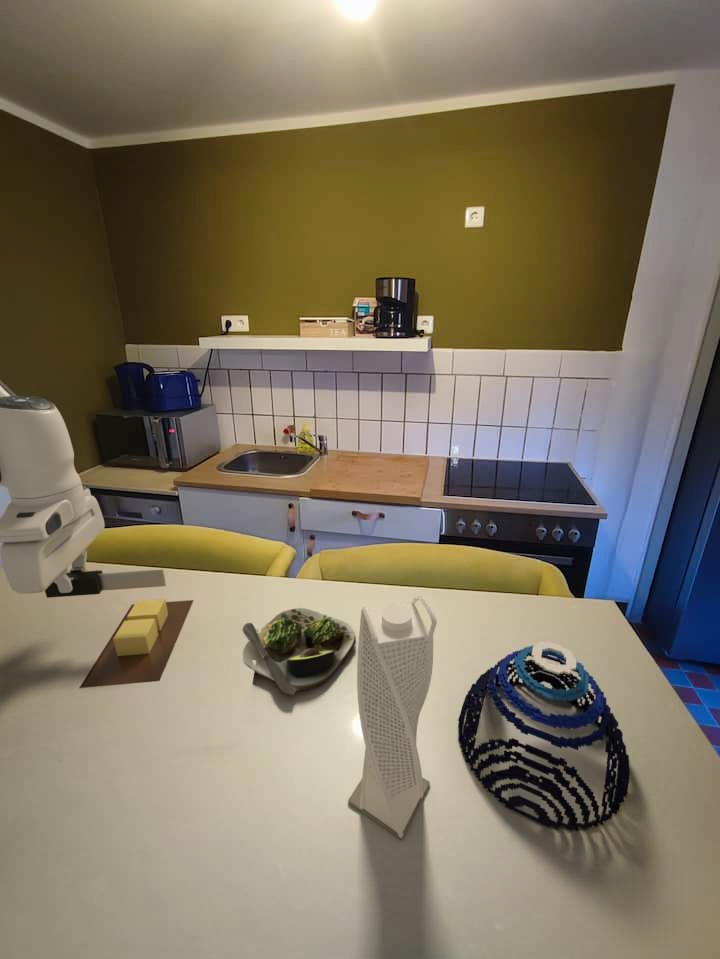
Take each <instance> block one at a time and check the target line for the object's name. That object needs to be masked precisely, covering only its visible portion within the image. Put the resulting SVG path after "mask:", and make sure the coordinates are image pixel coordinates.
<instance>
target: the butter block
mask: <svg viewBox="0 0 720 959" xmlns="http://www.w3.org/2000/svg"><path fill="white" fill-rule="evenodd" d="M157 637H158V630H157V626H156V621H155V618H154V619H141V620H128V621H124V622H123V624H122V625H121V627H120V629H119V630H118V632H117V633H116V635H115V637H114V638H113V641H114V644H115V648H116V652H117V656H126V655H138V654H149V653H150V651H151V649H152V647H153V645H154V643H155V641H156V639H157Z"/></svg>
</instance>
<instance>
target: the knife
mask: <svg viewBox="0 0 720 959" xmlns="http://www.w3.org/2000/svg"><path fill="white" fill-rule="evenodd" d="M164 572H165V571H164V569H150V570H149V569H148V570H135V571H120V572H119V571H118V572H104V573H103V570H87V571H85V572H70V571H68V573H67V574H66V575H67V576H68V577H69V578H74V581H75V585H76V586H75V587H74V588H73V590H72V591H71V592H69V593H61V592H60V591H59V589H58V586H57V584H56V583H54V582H53V583H52V584H51V585H50V586H49V587H48V588H47V589H46V590H45V591H44V593H45V596H46V598H47V599H48V598H49V599H50V598H63V597H77V596H78V597H79V596H92V595H100V594H101V593H102V591H115V590H129V589H130V590H131V589H143V588H144V589H146V588H159V587H166V586H167V582H166V578H165V573H164Z"/></svg>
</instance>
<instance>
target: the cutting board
mask: <svg viewBox="0 0 720 959" xmlns="http://www.w3.org/2000/svg"><path fill="white" fill-rule="evenodd" d="M193 603H194V599H189V600H176V601H175V600H174V601H166V605H167V610H168V616H167V618H166V620H165V622H164V624H163V627H162V629H161V631H158V637H157V639H156V641H155V643H154V645H153V647H152V649H151V651H150V653H149V654H138V655H126V656H117V652H116V648H115V644H114V641H113V638H114V637H115V635H116V633H117V632H118V630H119V629H120V627H121V625H122V624H123V622H124V621H128V619H127V616H128V614H129V613H130V611H131V609H132V608H133V606H134V605H135V603H132V604H131V605H130V607H129V608H128V610H127V612H126V613H125V614H124V616H123V618H122V620H121V621H120V623H119V624H118V626H117V627H116V629H115V631H114V632H113V634H112V635H111V637H110V638H109V640H108V642H107V643H106V645H105V646H104V648H103V649H102V651H101V653H100V654H99V655H98V657H97V659H96V661H94V662H95V663H94V664H93V665H92V667H91V669H90V670H89V671H88V674H86V676H85V678H84V679H83V681H82V683H81V685H80V686H79V689H85V688H96V687H107V686H108V687H109V686H118V685H129V684H140V683H152V682H160V681H161V679H162V677H163V674H164V673H165V669H166V667H167V665H168V662H169V660H170V658H171V655H172V654H173V653H172V652H173V650H174V649H175V646H176V643H177V641H178V639H179V637H180V634H181V631H182V630H183V627H184V624H185V623H186V619H187V617H188V615H189V613H190V610H191V608H192V605H193Z"/></svg>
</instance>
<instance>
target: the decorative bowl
mask: <svg viewBox="0 0 720 959" xmlns="http://www.w3.org/2000/svg"><path fill="white" fill-rule="evenodd" d="M528 657H531V658H533V659H531V658H530V659H527V658H528ZM545 659H546V660H545ZM549 661H552V662H556V663H559V664H554V663H551V662H549ZM511 662H512V663H511ZM509 668H510V669H509ZM572 672H574V673H577V675H578V676H576V675H574V674H573V673H572ZM510 676H511V678H510ZM578 677H580V678H578ZM514 678H515V679H514ZM520 680H521V681H520ZM543 682H544V683H546V684H549V685H550V686H551V688H550V687H547V686H545V684H543ZM519 685H520V686H525V687H528V688H530V690H532V691H534V692H535V694H538V695H541V696H542V698H545V699H547V700H551V701H553V700H556V701H557V702H558V701H559V702H561V701H563V702H567V701H568V703H570V705H573V706H575V707H576V708H578V709H581V710H582V712H581V711H579V712H577V713H576V714H575V713H574V714H572V715H568V714H565V713H563V714H560V713H558V714H555V713H552V712H550V713H549V715H547V714H544V713H543V711H541V709H540V708H538V707H535V706H534V704H532V703H529V702H527V700H526V699H524V698H521V697H520V694H519V693H518V691H516V690H514V686H519ZM589 685H590V689H591V690H592V691H591V690H590V689H589ZM498 688H500V690H501V691H502V693H504V695H503V696H504V697H505V698H506V700H508V701H510V702H509V705H512V706H514V708H515V709H518V711H519V712H521V713H523V715H524V716H526V717H529V718H530V720H532V721H535V722H537V723H539V724H543V725H545V726H548V727H551V728H554V729H557V728H559V729H561V730H562V729H563V728H564V729H567V730H569V731H571V729H572V730H575V731H576V730H579V729H581V728H582V727H583V728H584V729H585V728H586V729H587V728H588V726H590V725H593V724H595V725H596V726H597V728H598V729H595V730H593V731H592V733H590V734H587V735H584V736H581V737H580V736H578V735H577V736H574V737H573V738H572V737H570V736H568V738H567V737H564V736H562V735H560V737H559V736H557V735H554V734H551V733H549V732H546V731H544V730H541V729H538V728H535V727H533V726H530V725H528V724H525V722H524V721H523V719H522V718H519V717H517V713H516V712H513V711H511V710H510V708H508V705H506V703H505V702H504V701H503V697H502V696H501V695H499V692H500V691H499V690H498ZM488 690H489V692H488ZM487 692H488V695H490V696H489V697H490V699H491V701H492V704H493V705H494V708H496V710H497V711H498V713H500V716H502V717H504V719H506V721H507V722H509V723H510V724H513V726H514V727H515V729H516V730H518V731H519V732H520V733H521V734H523V735H526V736H529V735H531V736H533V737H536V738H538V739H541V740H544V741H546V742H549V743H550V745H552V746H555V747H557V748H559V749H562V748H565V749H568V748H570V749H573V750H576V751H579V748H582V747H585V746H587V747H590V746H593V743H596V742H597V743H598V742H599V741H600V742H604V740H605V739H604V735H605V736H606V737H607V738H608V739H607V740H605V747H604V751H605V753H607V757H606V769H605V778H604V784H603V792H602V798H601V807H603V809H602V811H601V814H599V813H600V804H598V800H596V795H594V791H592V788H590V786H589V785H588V784H587V783H586V782H585V780H584V779H583V777H581V776H580V774H579V773H578V769H576V767H575V766H574V765H571V766H568V761H566V759H565V758H563V757H561V756H560V757H559V758H558V757H555V756H553V754H552V753H550V752H548V751H545V750H543V749H540V748H538V747H535V746H532V745H531V744H528V743H526V744H524V743H520V740H518V739H515V738H513V737H511V738H508V741H507V740H504V739H502V738H501V737H499V738H496V739H494V738H491V739H490V738H489V739H488V741H485V742H484V741H483V742H481V743H480V744H478V746H475V745H476V741H477V737H476V736H477V735H478V730H479V725H480V720H481V716H482V711H483V706H484V702H485V699H486V694H487ZM482 702H483V703H482ZM583 702H584V703H583ZM590 702H591V703H590ZM600 718H601V719H600ZM599 719H600V721H599ZM457 721H458V724H457V728H458V732H457V733H458V738H457V741H458V742H459V744H460V749H461V751H460V752H461V753H462V755H463V756H464V759H465V763H467V764H469V765H468V767H470V769H469V771H471V772H473V773H474V774H473V775H475V778H477V781H478V782H480V783H481V785H482V788H484V789H486V792H487V793H490V794H491V795H493V798H496V799H497V802H499V803H500V804H503V805H504V808H507V809H508V810H511V811H513V812H514V813H517V814H519V815H521V816H522V817H523V816H524V817H526V818H527V819H530V820H532V821H534V822H536V823H538V824H541V825H542V826H545V827H547V828H548V829H551V828H554V829H556V830H559V829H562V828H564V829H567V830H569V831H570V832H573V830H575V831H577V832H578V831H579V828H580V829H583V830H585V831H587V829H588V830H589V829H591V828H593V827H594V828H598V827H599V825H601V826H604V822H607V821H610V820H612V817H613V815H615V816H617V815H618V814H617V813H618V812H620V809H621V804H622V803H625V798H627V796H628V790H629V784H630V774H631V772H630V771H631V769H630V757H629V755H628V754H627V746H626V745H625V742H624V740H623V731H622V729H620V728H618V727H619V721H618V720H617V719H616V717H615V715H614V713H613V712H611V707H610V705H609V704H607V697H606V696H605V692H604V691H602V690H601V688H600V686H599V684H597V681H596V680H595V679H594V676H592V675H591V674H590V673H589V672H588V671H587V670H586V669H585V665H583V664H582V663H581V662H578V659H577V658H575V655H574V654H573V651H571V650H570V649H569V648H566V647H564V646H563V645H560V644H558V643H554V642H551V641H548V642H546V641H544V640H543V641H542V640H541V641H538V642H535V645H529V646H524V647H523V648H522V649H519V650H514V651H512V653H509V654H507V655H505V657H503V658H501V659H500V660H498V661H497V663H496V664H495V663H494V666H493V667H492V666H491V667H490V668H489V669H487V670H486V671H485V672H484V673H481V674H480V676H479V677H478V678H477V679H476V681H475V683H472V684H471V687H470V689H469V690H468V692H467V694H466V695H465V697H464V700H463V703H462V706H461V710H460V714H459V716H458V719H457ZM496 743H497V744H496ZM503 747H504V750H503V754H498V753H490V752H492V751H493V752H495V751H498V750H500V749H501V748H503ZM513 747H514V748H516V749H518V748H521V749H524V752H525V753H528V754H531V755H533V756H535V757H538V758H540V759H543V760H545V761H547V763H548V764H551V765H552V767H550V766H548V765H545V764H543V763H540V762H538V761H535V760H532V759H531V758H528V757H526V756H523V753H521V752H519V751H517V750H514V751H513ZM487 753H488V756H487V758H485V759H483V758H481V759H480V756H484V755H487ZM514 757H515V758H514ZM479 760H480V761H479ZM510 762H512V763H515V764H511V765H509V766H508V768H506V767H505V768H503V769H500V770H499V769H498V770H495V771H494V769H493V770H492V769H490V767H492V766H493V765H495V764H496V765H500V763H502V764H505V763H506V764H507V763H510ZM519 762H521V763H522V765H523V766H526V767H528V768H531V769H532V770H536V771H538V772H541V773H543V774H544V775H547V776H550V775H552V776H553V779H550V778H547V777H546V776H543V775H539V776H538V775H535V774H533V773H531V772H530V770H529V769H527V768H524V767H521V765H520V766H519V765H517V764H518V763H519ZM476 764H477V766H476V767H474V765H476ZM559 766H561V767H563V771H561V769H560V768H559ZM487 769H490V771H489V773H487V774H486V773H485V774H484V775H483V776H482V772H484V771H485V770H487ZM564 772H565V774H566V775H568V776H570V778H571V779H575V782H576V783H577V787H576V786H573V785H572V786H571V787H570V785H571V781H570V780H568V779H566V777H565V776H564ZM507 780H510V781H513V780H514V781H515V780H518V781H520V782H519V783H518V782H516V783H515V782H508V783H503V784H500V786H496V785H497V782H499V783H500V782H502V781H507ZM554 781H555V782H554ZM528 784H530V785H533V786H535V787H537V788H534V787H531V786H529V785H528ZM559 784H560V786H561V787H563V788H565V791H567V793H568V794H570V797H573V798H574V803H575V804H576V805H577V806H579V810H581V811H580V816H582V822H583V823H581V822H578V820H579V818H578V817H576V816H577V813H576V812H575V808H573V807H572V805H571V804H570V802H568V800H567V799H566V797H565V796H563V794H564V790H563V789H561V787H560V786H559ZM494 786H495V787H494ZM578 787H579V788H581V789H582V791H584V796H586V798H587V799H588V801H589V802H590V807H591V808H592V812H593V818H595V819H592V820H590V816H591V810H590V809H589V805H587V803H586V802H585V798H584V797H583V796H582V794H580V792H578ZM493 788H494V789H493ZM519 789H520V790H522V791H525V792H527V793H530V794H532V795H534V796H536V797H538V798H540V799H541V801H543V802H546V805H548V807H549V808H551V809H553V813H554V817H555V818H556V820H553V819H551V818H550V816H549V815H548V814H549V812H548V811H546V808H544V807H542V806H541V804H539V803H536V802H534V801H532V800H530V799H528V798H525V797H523V796H521V795H519V794H517V795H511V796H508V800H507V798H506V797H503V792H504V793H505V792H508V790H511V791H514V790H519ZM544 792H545V793H547V794H550V797H552V799H551V798H549V797H548V796H547V795H545V794H544ZM553 800H555V801H557V803H558V804H560V807H562V809H563V810H564V813H563V812H562V811H561V809H560V808H558V805H556V803H555V802H554V801H553ZM521 807H523V808H524V807H527V808H528V809H531V810H532V811H533V812H534V813H535V815H536V816H537V817H536V816H534V815H532V814H530V813H528V812H526V811H523V810H522V809H519V808H521ZM563 814H564V815H563ZM565 816H566V819H568V821H567V822H566V823H565V822H564V820H565Z"/></svg>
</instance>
